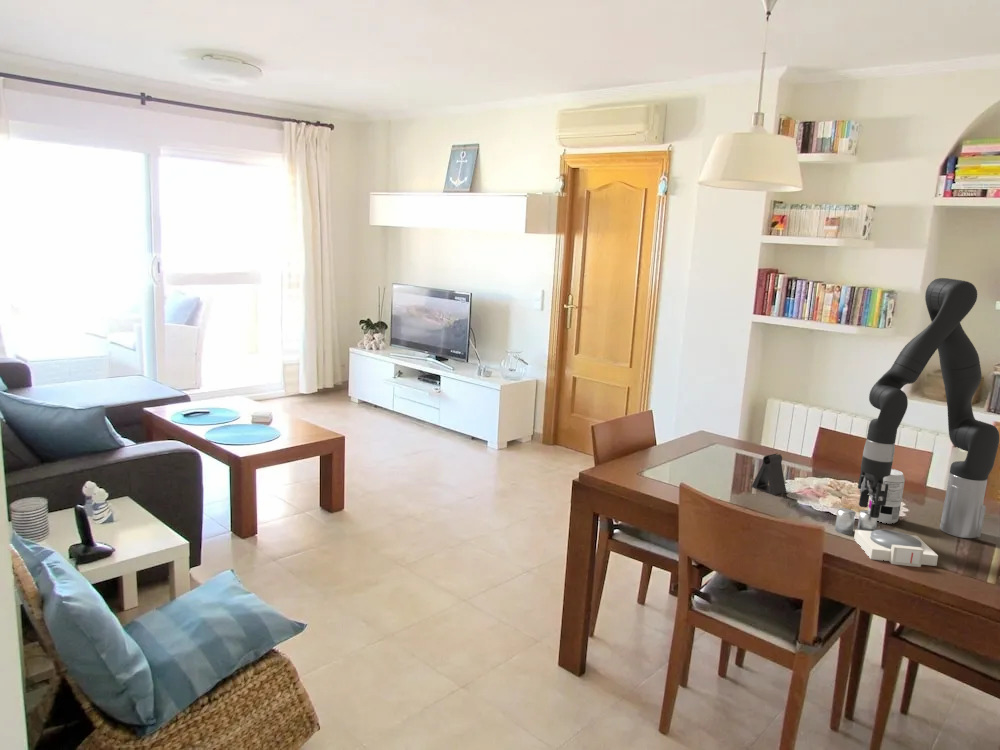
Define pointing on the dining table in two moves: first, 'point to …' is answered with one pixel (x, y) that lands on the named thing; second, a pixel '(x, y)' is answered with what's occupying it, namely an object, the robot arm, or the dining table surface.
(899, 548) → the scale
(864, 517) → the silver metal block
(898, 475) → the supplement can
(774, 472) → the black triangular stand
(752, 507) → the dining table surface
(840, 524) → the cylinder
